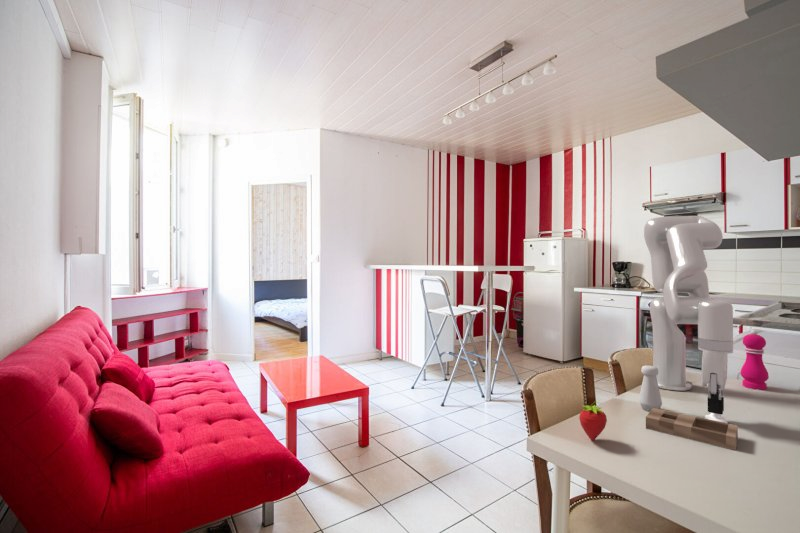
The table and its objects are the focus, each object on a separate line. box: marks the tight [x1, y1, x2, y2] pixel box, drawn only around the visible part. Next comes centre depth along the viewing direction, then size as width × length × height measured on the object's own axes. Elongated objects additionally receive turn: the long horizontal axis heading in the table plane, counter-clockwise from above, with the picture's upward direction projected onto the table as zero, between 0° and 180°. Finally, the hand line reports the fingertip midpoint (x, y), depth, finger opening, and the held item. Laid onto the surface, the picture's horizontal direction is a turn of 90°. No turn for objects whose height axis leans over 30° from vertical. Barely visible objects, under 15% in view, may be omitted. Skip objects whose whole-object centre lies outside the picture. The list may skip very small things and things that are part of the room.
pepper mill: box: [740, 329, 769, 391], centre depth 134 cm, size 7×7×20 cm
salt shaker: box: [638, 364, 663, 413], centre depth 115 cm, size 6×6×13 cm
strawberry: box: [578, 401, 608, 441], centre depth 96 cm, size 6×8×10 cm
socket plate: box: [645, 408, 739, 451], centre depth 99 cm, size 9×18×3 cm, turn 46°
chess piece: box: [704, 391, 728, 423], centre depth 107 cm, size 5×5×10 cm
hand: (715, 411), depth 107 cm, fingers closed on chess piece
